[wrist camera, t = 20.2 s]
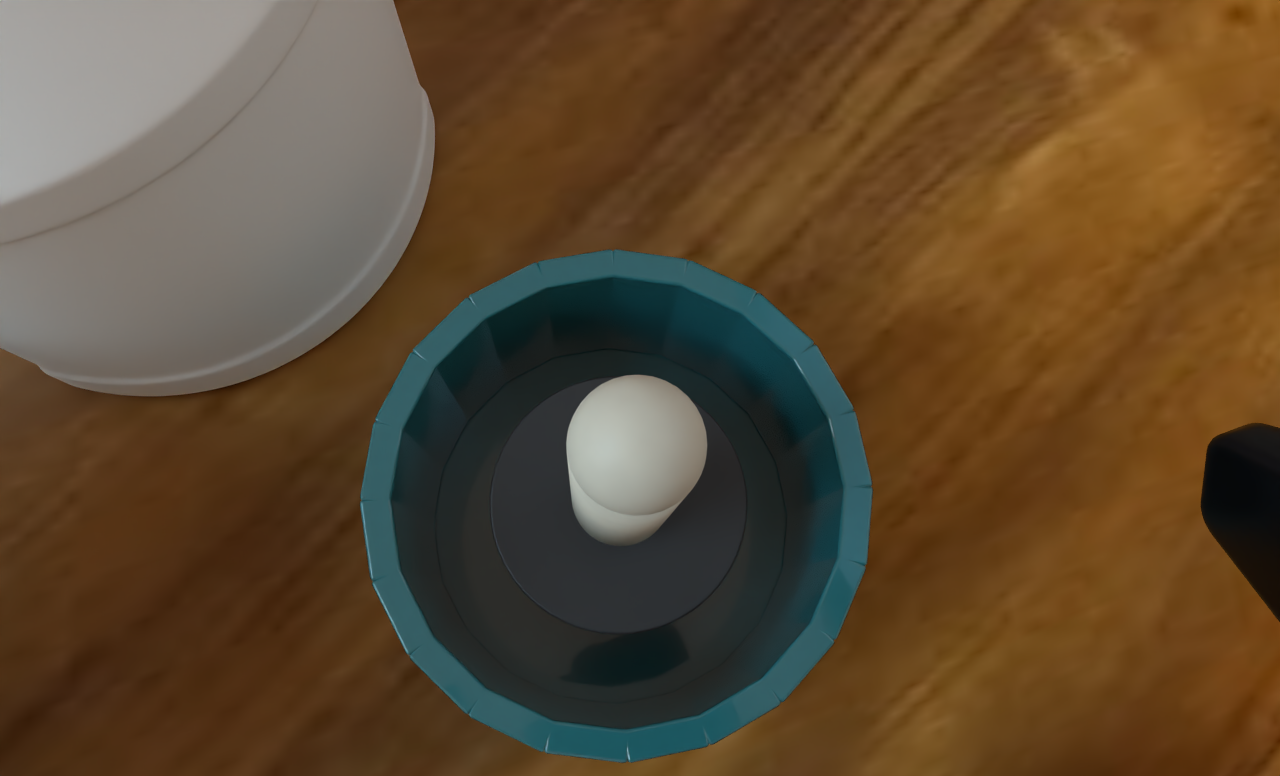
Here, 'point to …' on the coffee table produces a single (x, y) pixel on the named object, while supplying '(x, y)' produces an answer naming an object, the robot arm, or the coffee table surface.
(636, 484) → the brush
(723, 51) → the coffee table surface
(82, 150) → the jar
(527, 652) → the tumbler
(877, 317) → the coffee table surface
